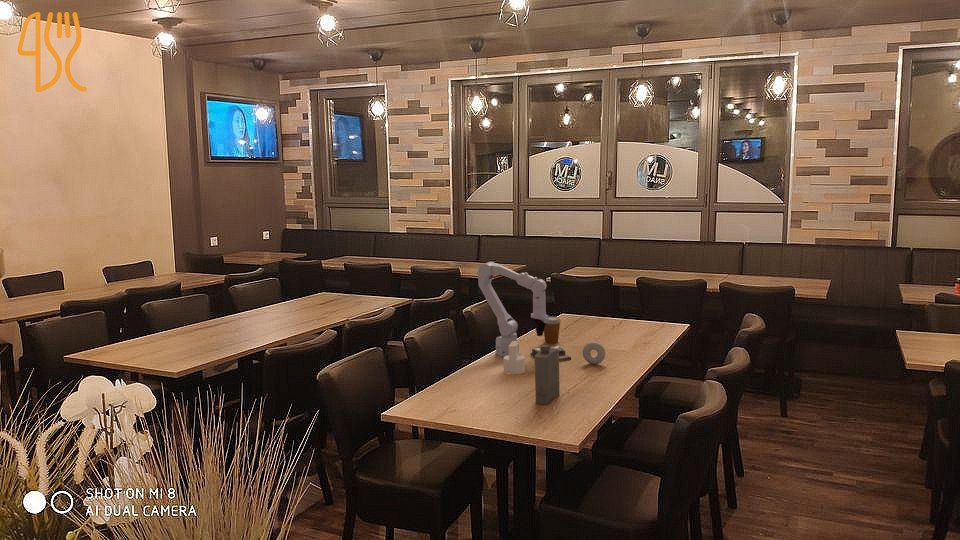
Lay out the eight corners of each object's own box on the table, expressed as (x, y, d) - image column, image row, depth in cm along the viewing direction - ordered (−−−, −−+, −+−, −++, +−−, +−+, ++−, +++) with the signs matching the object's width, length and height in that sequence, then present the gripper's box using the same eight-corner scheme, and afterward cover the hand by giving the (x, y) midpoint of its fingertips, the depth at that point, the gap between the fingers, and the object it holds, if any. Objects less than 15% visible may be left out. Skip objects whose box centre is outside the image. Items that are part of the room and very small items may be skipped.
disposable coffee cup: (561, 339, 363) (560, 316, 361) (561, 344, 353) (561, 320, 352) (542, 340, 364) (541, 316, 362) (541, 344, 354) (541, 320, 353)
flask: (547, 392, 277) (546, 340, 274) (561, 394, 274) (560, 342, 272) (531, 403, 264) (530, 349, 261) (546, 405, 261) (545, 351, 259)
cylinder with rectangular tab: (523, 374, 303) (522, 346, 301) (502, 374, 304) (501, 345, 303) (526, 368, 311) (526, 341, 310) (505, 368, 313) (505, 341, 312)
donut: (581, 364, 315) (581, 341, 314) (583, 362, 318) (583, 340, 317) (604, 366, 311) (604, 343, 310) (606, 364, 315) (606, 341, 313)
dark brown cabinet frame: (545, 363, 319) (545, 356, 319) (530, 355, 333) (530, 349, 333) (571, 359, 324) (571, 353, 324) (555, 352, 338) (555, 346, 338)
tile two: (555, 352, 327) (555, 348, 327) (551, 351, 331) (550, 346, 331) (562, 351, 329) (562, 347, 328) (558, 349, 332) (558, 345, 332)
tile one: (538, 354, 329) (538, 349, 329) (534, 352, 333) (534, 348, 333) (546, 353, 331) (546, 348, 330) (542, 351, 334) (542, 347, 334)
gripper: (554, 307, 324) (555, 337, 326) (540, 302, 337) (540, 331, 339) (540, 309, 321) (540, 339, 323) (526, 304, 335) (527, 333, 337)
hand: (539, 335), depth 331 cm, fingers closed
